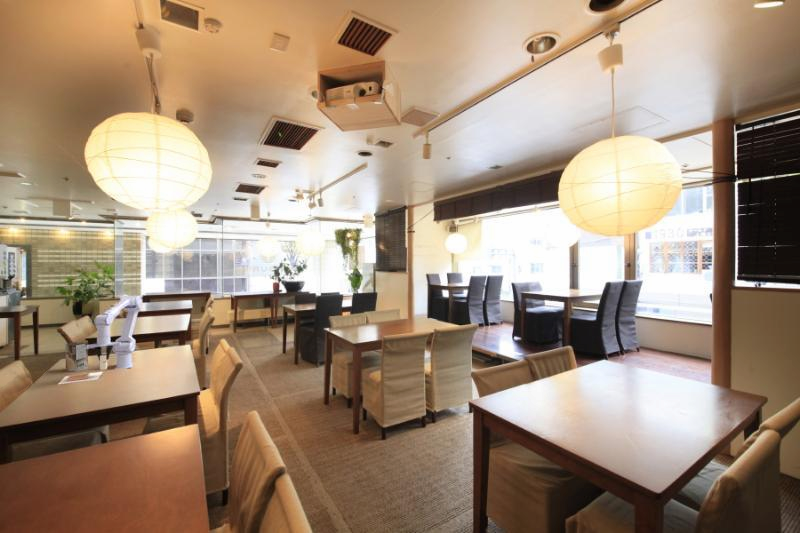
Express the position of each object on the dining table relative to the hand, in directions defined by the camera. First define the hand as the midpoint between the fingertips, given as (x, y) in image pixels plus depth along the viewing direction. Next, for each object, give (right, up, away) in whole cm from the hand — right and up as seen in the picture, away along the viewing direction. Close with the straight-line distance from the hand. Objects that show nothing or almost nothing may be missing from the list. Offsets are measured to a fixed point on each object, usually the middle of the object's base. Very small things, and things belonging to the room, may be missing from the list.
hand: (103, 359), depth 190 cm
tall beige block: (0, -5, +1) cm, 5 cm away
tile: (-12, -8, -2) cm, 14 cm away
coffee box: (-26, -9, +11) cm, 30 cm away
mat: (-10, -10, -3) cm, 14 cm away
